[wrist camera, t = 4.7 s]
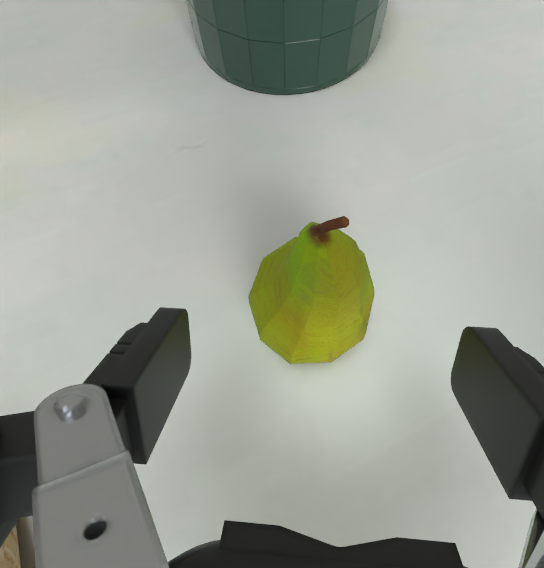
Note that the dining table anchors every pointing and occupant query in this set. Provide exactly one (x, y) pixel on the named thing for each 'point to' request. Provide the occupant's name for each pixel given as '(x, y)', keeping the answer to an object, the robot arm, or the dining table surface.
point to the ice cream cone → (10, 551)
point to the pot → (286, 40)
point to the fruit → (313, 295)
